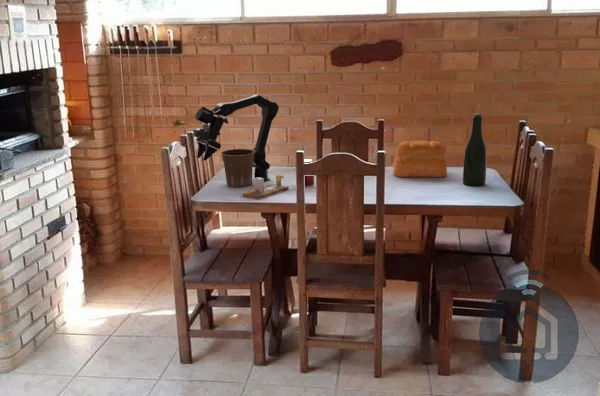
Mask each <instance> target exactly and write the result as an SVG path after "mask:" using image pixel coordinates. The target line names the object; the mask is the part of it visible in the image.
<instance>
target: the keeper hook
mask: <svg viewBox="0 0 600 396" xmlns="http://www.w3.org/2000/svg"><path fill="white" fill-rule="evenodd" d="M284 178H285V176H284V175H282V174H275V184H276V186H281V185H282V179H284Z"/></svg>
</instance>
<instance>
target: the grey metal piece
mask: <svg viewBox="0 0 600 396" xmlns="http://www.w3.org/2000/svg"><path fill="white" fill-rule="evenodd" d="M264 186H265V181H264V178H258V177H256V178H255V177H254V178H253V177H252V190H253V191H251V190H248V191H249V192H248V191H247V192H248V194H252V193H255V192H259V193H261V192H264Z"/></svg>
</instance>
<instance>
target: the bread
mask: <svg viewBox="0 0 600 396" xmlns="http://www.w3.org/2000/svg"><path fill="white" fill-rule="evenodd" d="M445 152H446V151H445V148H444V146H443V145H442V143H440V142H439V141H437V140H431V141H429V140H424V139H423V140H420V139H419V140H418V139H417V140H411V141H407V140H404V141H401V142H400V143H399V144H398V145H397V147H396V150H395V153H396V154H395V155H396V156H395V158H394V160H393V169H392V171H393V175H394V176H395V177H398V178H424V177H425V178H431V177H432V178H434V177H435V178H440V177H442V178H443V177H446V176H447V173H448V172H447V171H448V167H447V161H446V159H445V158H446V157H445V154H446V153H445Z"/></svg>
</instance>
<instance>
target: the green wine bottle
mask: <svg viewBox="0 0 600 396" xmlns="http://www.w3.org/2000/svg"><path fill="white" fill-rule="evenodd" d="M471 120H472V123H471V132H470V135H469V139H468V141H467V143H466V146H465V149H464V155H463V168H462V169H463V170H462V184H463V185H465V186H470V187H481V186H485V185H486V182H487V163H488V162H487V159H488V157H487V155H488V153H487V151H488V150H487V145H486V141H485V140H484V136H483V116H482V113H474V114H473V116H472V119H471Z"/></svg>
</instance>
